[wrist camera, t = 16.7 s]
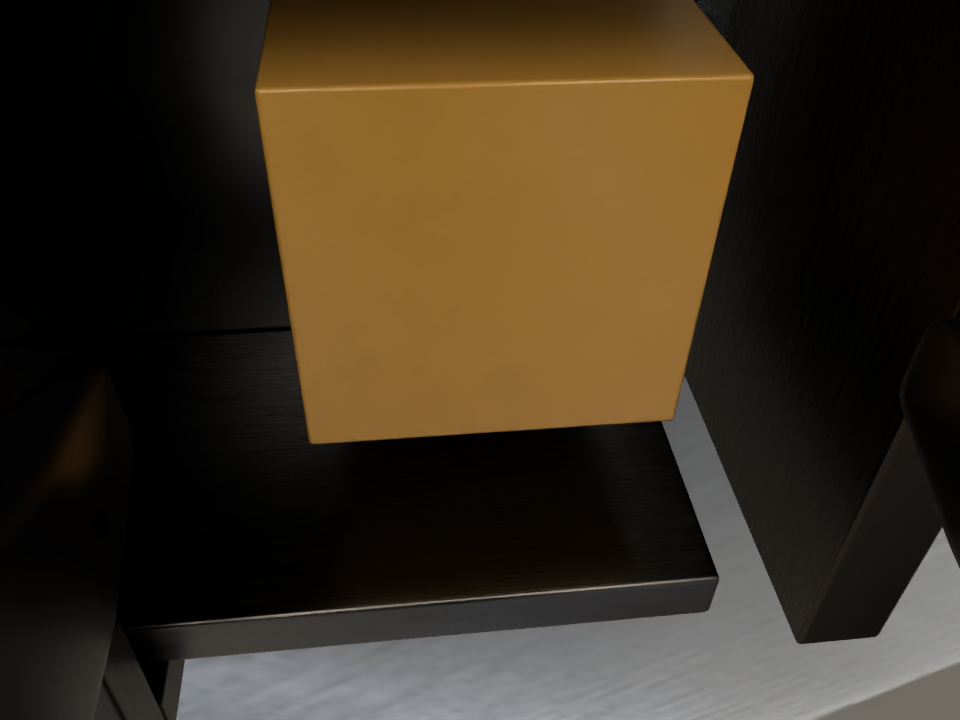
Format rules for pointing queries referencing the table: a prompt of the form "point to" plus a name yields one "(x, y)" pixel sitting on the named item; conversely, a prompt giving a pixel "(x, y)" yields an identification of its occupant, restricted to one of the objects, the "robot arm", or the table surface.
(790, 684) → the table surface
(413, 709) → the table surface
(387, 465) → the black drawer
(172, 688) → the drawer cabinet
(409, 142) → the brass block
